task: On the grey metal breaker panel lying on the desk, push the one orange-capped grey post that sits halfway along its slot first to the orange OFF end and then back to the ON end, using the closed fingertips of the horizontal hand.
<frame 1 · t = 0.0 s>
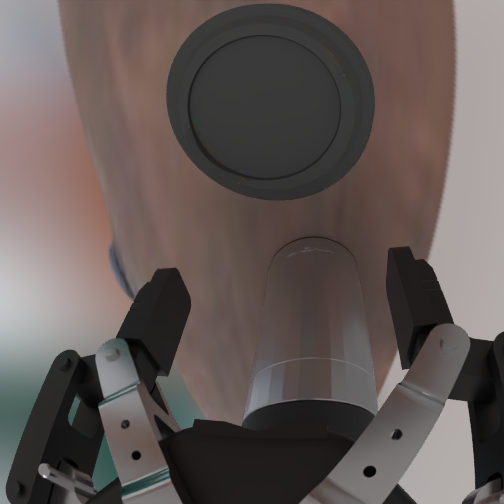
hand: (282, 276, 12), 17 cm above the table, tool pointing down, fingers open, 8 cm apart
coffee cup: (284, 83, 23), on the table
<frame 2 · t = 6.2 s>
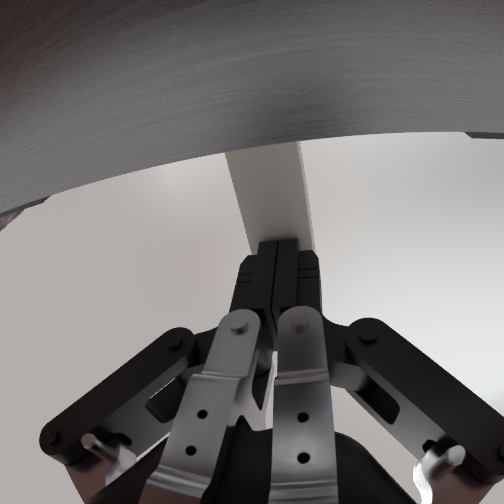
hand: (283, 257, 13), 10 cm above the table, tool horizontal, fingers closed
orange-capped grey post: (279, 215, 13), point 9 cm above the table, slide at 1.3 cm, touching gripper
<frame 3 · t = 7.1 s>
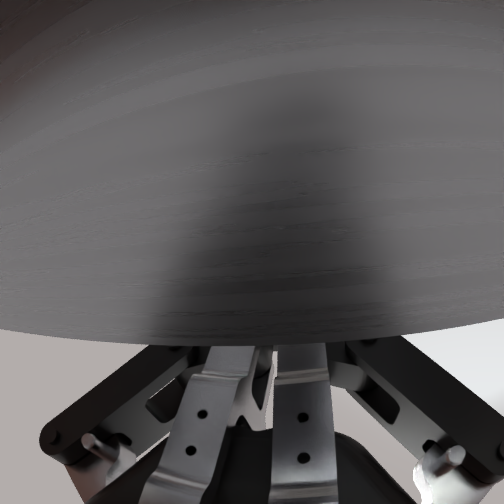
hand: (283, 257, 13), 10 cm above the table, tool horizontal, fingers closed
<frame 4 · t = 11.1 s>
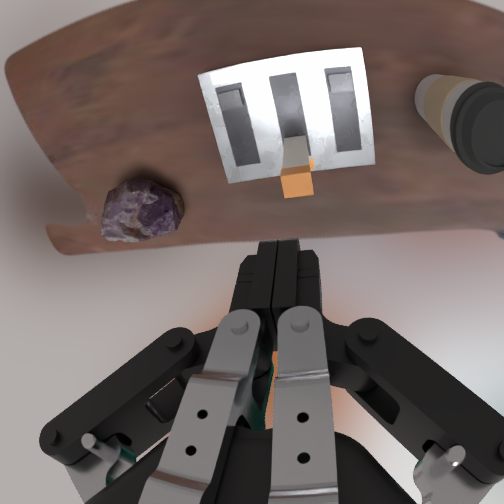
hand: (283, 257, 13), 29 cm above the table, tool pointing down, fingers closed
breaker panel: (291, 110, 36), on the table
coffee cup: (437, 99, 31), on the table
orange-capped grey post: (296, 161, 31), point 9 cm above the table, slide at 3.4 cm
rock: (148, 195, 45), on the table
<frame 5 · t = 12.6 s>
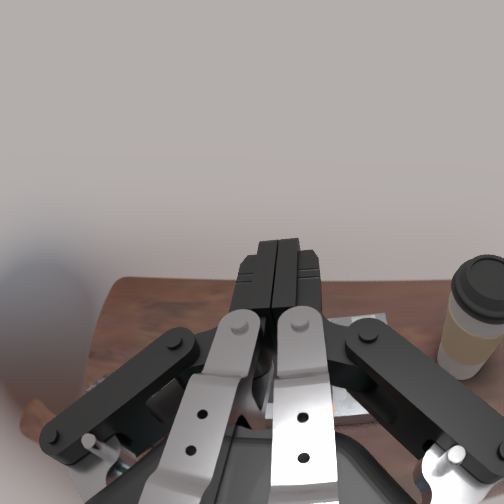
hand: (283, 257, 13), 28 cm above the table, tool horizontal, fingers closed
breaker panel: (320, 376, 38), on the table
coffee cup: (459, 358, 33), on the table
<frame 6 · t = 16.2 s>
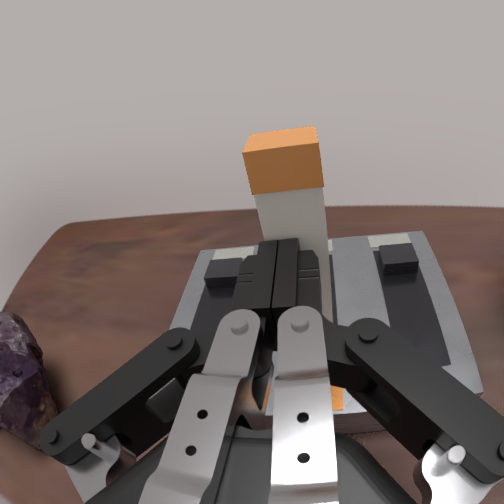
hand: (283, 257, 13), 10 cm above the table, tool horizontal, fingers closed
breaker panel: (315, 338, 21), on the table
orange-capped grey post: (301, 259, 14), point 9 cm above the table, slide at 2.3 cm, touching gripper
rock: (29, 404, 20), on the table
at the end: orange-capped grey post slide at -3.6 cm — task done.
